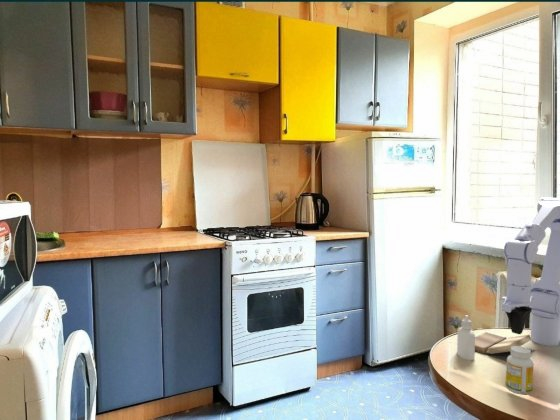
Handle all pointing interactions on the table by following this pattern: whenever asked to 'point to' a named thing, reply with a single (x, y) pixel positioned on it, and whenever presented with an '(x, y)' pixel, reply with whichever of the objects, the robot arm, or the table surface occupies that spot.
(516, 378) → the supplement bottle
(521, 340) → the board
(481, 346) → the floor section
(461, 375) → the table surface
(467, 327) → the eye dropper bottle
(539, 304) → the robot arm
